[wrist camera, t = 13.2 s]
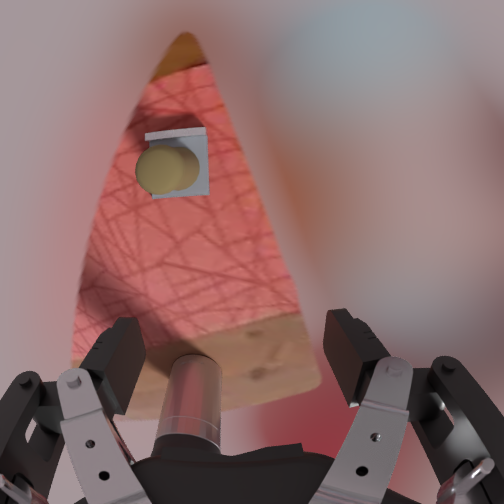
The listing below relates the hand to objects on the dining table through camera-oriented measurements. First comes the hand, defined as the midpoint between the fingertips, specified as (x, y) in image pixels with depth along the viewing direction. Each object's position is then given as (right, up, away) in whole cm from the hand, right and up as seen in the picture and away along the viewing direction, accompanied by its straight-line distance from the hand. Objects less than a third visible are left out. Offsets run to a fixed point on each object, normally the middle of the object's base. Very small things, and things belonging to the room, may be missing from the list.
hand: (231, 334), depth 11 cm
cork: (-9, +15, +24) cm, 29 cm away
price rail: (-9, +19, +23) cm, 31 cm away
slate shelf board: (-9, +15, +24) cm, 30 cm away
